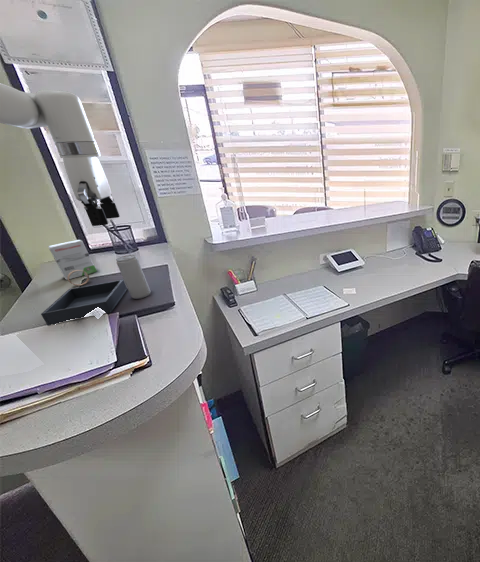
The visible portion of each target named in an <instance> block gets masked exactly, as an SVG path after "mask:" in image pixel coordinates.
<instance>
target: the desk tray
mask: <svg viewBox="0 0 480 562" xmlns="http://www.w3.org/2000/svg"><path fill="white" fill-rule="evenodd" d="M127 291H128V288H127V286H126V284H125V281H124V279H118V280H113V281H112V280H111V281H106V282H102V283H101V282H100V283H95V284H90V285H84V286H83V285H82V286H77V287H73V288H69V289H67V290H66V291H65V292H64V293H63V294H62V295H60V296H59V297H58V298H57V299H56V300H55V301H54V302H53V303H52V304H50V305H49V306H48V307H47V308H46V309H45V310H44V311H43V312H41V313H40V315H41V317H42V318H43V320H44V322H45V323H46V325H47V326H51V324H53V325H57V324H56V323H58V324H60V323H59V322H63V321H66V320H70V319H75V318H81V317H84V316H85V315H86V314H87V313H89V312H91V311H92V310H94V309H95V308H97V307H99V308H101V309H102V310H104V311H105V312H106V313H107V314H111V313H112V312H113V311H114V309H116V308H115V307H116V306H117V305H118V303H120V301H121V299H122V298H123V297H124V295H125V293H126V292H127ZM63 323H64V322H63Z"/></svg>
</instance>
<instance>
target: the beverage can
mask: <svg viewBox="0 0 480 562" xmlns="http://www.w3.org/2000/svg"><path fill="white" fill-rule="evenodd" d="M115 261H116V265H117V268H118V270H119V272H120V275H121V277H122V280H124V283H125V285H126V287H127V291H128V292H129V295H130V297H131V298H132V299H133V300H140V299H144V298H147V297H149V296H150V295H151V292H152V291H151V289H150V286H149V283H148V281H147V279H146V276H145V274H144V271H143V269H142V266H141V263H140V260H139V259H138V257H137V255H136V254H128V255H122V256H120V257H117V258H116V259H115Z"/></svg>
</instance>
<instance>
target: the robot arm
mask: <svg viewBox="0 0 480 562" xmlns="http://www.w3.org/2000/svg"><path fill="white" fill-rule="evenodd" d="M87 116H88V115H87V113H86V111H85V108H84V106H83V103H82V101H81V98H80V97H79V96H78V95H77V94H76V93H73V92H71V91H68V90H61V89H42V90H41V89H40V90H38V91H36V92H26V91H22V90H19V89H17V88H15V87H13V86H10V85H8V84H4V83H2V82H0V124H3V125H7V126H12V127H16V128H19V129H37V128H44V127H47V129H48V131H49V134H50V136H51V139H52V141H53V143H54V146H55V148H56V150H57V153H58V155H59V158H60V159H62V161H63V164H64V165H63V166H64V169H65V172H66V175H67V178H68V181H69V185H70V187H71V189H72V192H73V194H74V197H75V199H76V200H77V201H78V202H81V204H82V205H83V209H84V210H85V212H86V215H87V217H88V220H89V221H90V225H91V226H92V227H99V226H108V224H109V221H108V219H118V218H120V217H121V216H120V213H119V210H118V207H117V205H116V202H115V199H114V198H113V195H112V189H111V185H110V183H109V180H108V178H107V176H106V173H105V171H104V169H103V166H102V164H101V161H100V159H99V158H98V157H102V154H101V152H100V149H99V147H98V143H97V141H96V138H95V136H94V133H93V130H92V128H91V125H90V122H89V119H88V117H87Z"/></svg>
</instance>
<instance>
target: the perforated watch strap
mask: <svg viewBox="0 0 480 562" xmlns="http://www.w3.org/2000/svg"><path fill="white" fill-rule="evenodd" d="M76 271H82V270H74V271H72V272H70V273H69V274H68V277H67V278H68V280H67V281H68V282H69V283H70V284H71V285H73V286H77V287H81V286H83V285H84V286H85V285H86V284H87V283H88V282H89V281H90V276H89V274H87V273H86V272H85V271H83V272H84V275H83V276H85V278H86V280H85V281H84V282H83V283H79V284H78V283H74V282H72V280H71V279H69V277H70V275H71V274H72V273H73V272H76Z"/></svg>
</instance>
